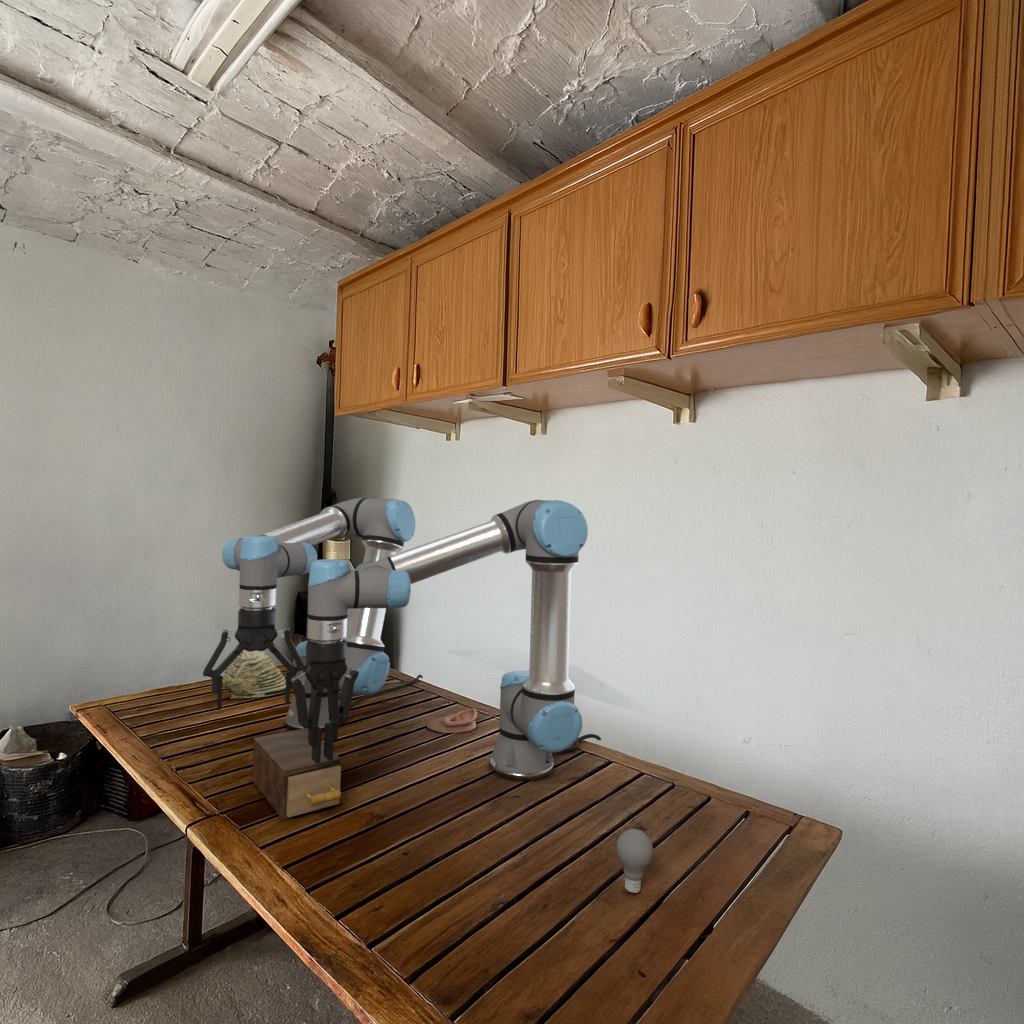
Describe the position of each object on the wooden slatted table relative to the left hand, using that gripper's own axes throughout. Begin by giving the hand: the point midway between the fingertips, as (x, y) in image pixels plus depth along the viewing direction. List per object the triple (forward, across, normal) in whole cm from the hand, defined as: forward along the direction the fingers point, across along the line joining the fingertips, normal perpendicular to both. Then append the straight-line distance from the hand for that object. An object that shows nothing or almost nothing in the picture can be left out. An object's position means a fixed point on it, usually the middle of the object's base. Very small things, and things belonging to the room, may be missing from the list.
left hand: (253, 705), depth 137 cm
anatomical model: (+18, +52, +22) cm, 59 cm away
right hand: (+5, +12, -20) cm, 24 cm away
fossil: (+18, +1, +65) cm, 68 cm away
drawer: (+17, +10, -11) cm, 22 cm away
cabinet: (+18, +8, -6) cm, 20 cm away
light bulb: (+18, +59, -58) cm, 85 cm away
